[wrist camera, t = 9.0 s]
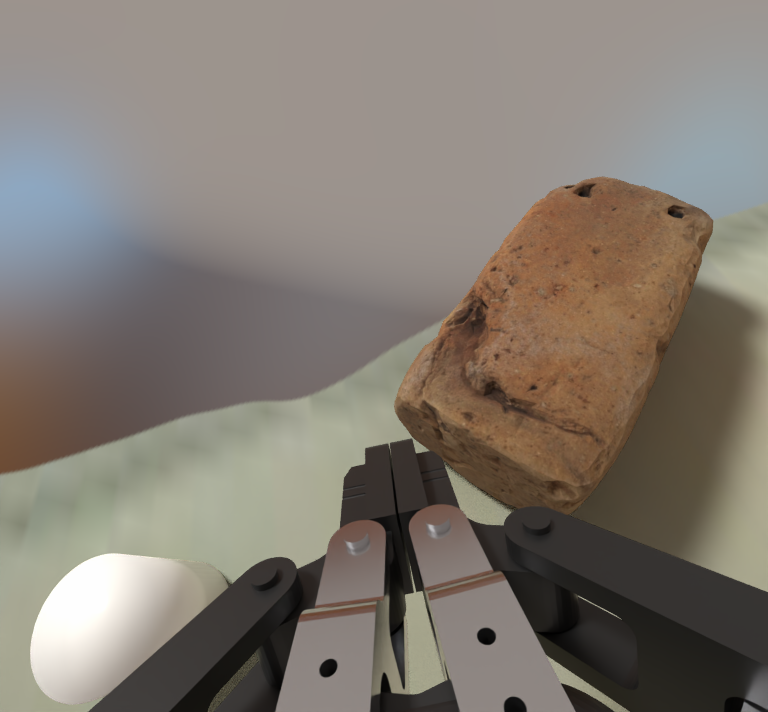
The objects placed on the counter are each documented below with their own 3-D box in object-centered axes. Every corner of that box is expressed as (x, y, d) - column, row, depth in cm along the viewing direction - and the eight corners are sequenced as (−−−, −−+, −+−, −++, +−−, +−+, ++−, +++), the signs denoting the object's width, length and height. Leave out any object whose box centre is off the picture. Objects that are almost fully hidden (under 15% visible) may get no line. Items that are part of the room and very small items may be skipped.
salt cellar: (135, 679, 21) (15, 716, 15) (145, 571, 24) (46, 566, 18) (230, 659, 21) (148, 690, 15) (231, 553, 24) (161, 542, 18)
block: (557, 542, 22) (681, 285, 29) (603, 516, 16) (748, 195, 23) (390, 434, 26) (534, 233, 33) (372, 379, 20) (555, 144, 27)
